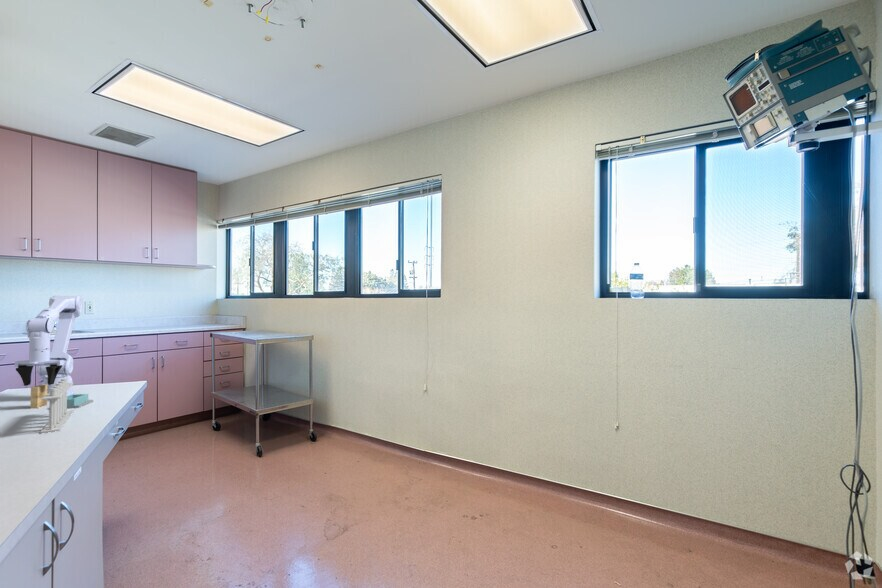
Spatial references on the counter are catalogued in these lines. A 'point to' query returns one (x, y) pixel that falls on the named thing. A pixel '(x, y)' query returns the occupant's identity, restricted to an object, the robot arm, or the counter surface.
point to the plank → (38, 396)
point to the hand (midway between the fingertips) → (39, 384)
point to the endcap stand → (77, 400)
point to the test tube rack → (57, 406)
